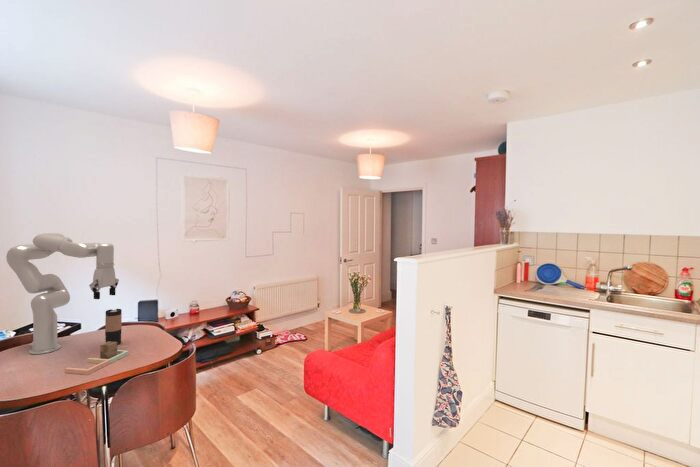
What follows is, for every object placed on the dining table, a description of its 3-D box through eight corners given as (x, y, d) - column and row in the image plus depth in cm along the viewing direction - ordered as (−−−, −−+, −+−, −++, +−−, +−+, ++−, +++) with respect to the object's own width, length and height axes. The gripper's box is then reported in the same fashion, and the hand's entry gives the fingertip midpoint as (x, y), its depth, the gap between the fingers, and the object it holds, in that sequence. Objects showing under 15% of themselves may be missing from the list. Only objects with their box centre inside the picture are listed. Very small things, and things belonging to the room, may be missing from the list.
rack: (64, 372, 148) (64, 368, 148) (108, 352, 171) (108, 349, 171) (87, 374, 147) (87, 370, 147) (128, 354, 170) (128, 350, 170)
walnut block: (100, 360, 163) (100, 344, 162) (108, 356, 167) (108, 341, 167) (108, 360, 162) (108, 345, 162) (117, 356, 167) (117, 342, 167)
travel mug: (112, 347, 179) (112, 312, 179) (101, 345, 181) (101, 311, 180) (124, 342, 187) (125, 309, 186) (114, 341, 188) (114, 308, 188)
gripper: (112, 264, 181) (112, 293, 182) (83, 267, 164) (83, 300, 164) (124, 264, 180) (124, 294, 181) (96, 268, 163) (96, 301, 164)
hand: (104, 297), depth 173 cm, fingers open, 9 cm apart
